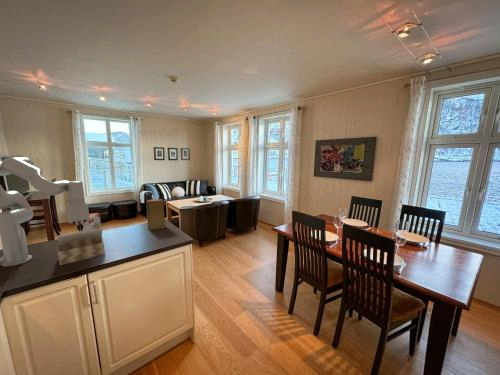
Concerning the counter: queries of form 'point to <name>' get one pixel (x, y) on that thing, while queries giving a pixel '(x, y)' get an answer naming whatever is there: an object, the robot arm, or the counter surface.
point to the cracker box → (92, 222)
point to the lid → (79, 236)
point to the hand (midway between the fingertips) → (80, 230)
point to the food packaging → (155, 214)
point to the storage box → (80, 250)
